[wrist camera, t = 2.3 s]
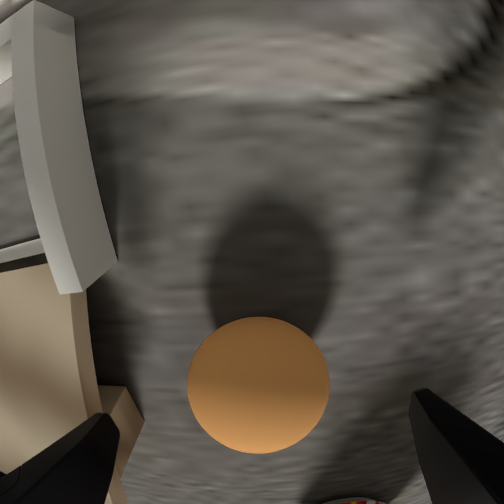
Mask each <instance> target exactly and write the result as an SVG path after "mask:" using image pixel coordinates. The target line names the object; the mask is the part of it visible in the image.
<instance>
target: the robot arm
mask: <svg viewBox="0 0 504 504" xmlns="http://www.w3.org/2000/svg"><path fill="white" fill-rule="evenodd" d="M409 419H410V423H411V427H412V432H413V436H414V441H415V446H416V450H417V455H418V460H419V463H420V467H421V470H422V473H423V476H424V479H425V482H426V485H427V488H428V491H429V494H430V498H431V501H432V504H504V443H503V442H502V441H501V440H499V439H498V438H496V437H495V436H493V435H492V434H491V433H489V432H488V431H486V430H485V429H484V428H482V427H481V426H479V425H478V424H477V423H475V422H474V421H472V420H471V419H470V418H468V417H467V416H465V415H464V414H463V413H461V412H460V411H458V410H457V409H456V408H454V407H453V406H452V405H450V404H449V403H447V402H446V401H445V400H443V399H442V398H440V397H439V396H438V395H436V394H435V393H433V392H432V391H431V390H429V389H428V388H422V389H419V390H415V391H413V393H412V396H411V402H410V407H409ZM119 440H120V431H119V429H118V427H117V425H116V424H115V422H114V421H113V419H112V417H111V416H110V415H109V414H108V413H101V412H98V413H95V414H94V415H92V416H91V417H90V418H88V419H87V420H85V421H84V422H83V423H81V424H80V425H78V426H77V427H76V428H74V429H73V430H71V431H70V432H68V433H67V434H66V435H64V436H63V437H61V438H60V439H58V440H57V441H56V442H54V443H53V444H51V445H50V446H48V447H47V448H45V449H44V450H42V451H41V452H40V453H38V454H37V455H35V456H34V457H32V458H31V459H29V460H28V461H26V462H25V463H23V464H22V465H21V466H19V467H17V468H16V469H14V470H13V471H11V472H10V473H8V474H5V473H3V472H1V471H0V504H105V501H106V497H107V494H108V490H109V487H110V483H111V480H112V476H113V472H114V467H115V461H116V455H117V450H118V445H119Z"/></svg>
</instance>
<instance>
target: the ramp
mask: <svg viewBox="0 0 504 504" xmlns="http://www.w3.org/2000/svg"><path fill="white" fill-rule="evenodd" d="M98 412H101V413H108V414H109V415H110V416H111V417H112V419H113V421H114V422H115V424H116V425H117V427H118V429H119V431H120V440H119V445H118V450H117V455H116V461H115V467H114V472H113V476H112V480H111V483H110V487H109V490H108V494H107V497H106V501H105V504H127V503H128V502H127V499H126V496H125V493H124V490H123V487H122V484H121V481H120V478H121V475H122V473H123V470H124V468H125V466H126V463H127V461H128V459H129V456H130V454H131V452H132V449H133V447H134V445H135V442H136V440H137V438H138V435H139V433H140V431H141V429H142V426H143V424H144V420H143V418H142V416H141V414H140V413H139V411H138V409H137V407H136V405H135V403H134V401H133V400H132V398H131V396H130V394H129V392H128V390H127V388H126V386H104V385H97V380H96V374H95V367H94V361H93V354H92V346H91V338H90V330H89V320H88V309H87V297H86V290H84V291H83V292H77V293H69V294H59V292H58V289H57V286H56V284H55V281H54V278H53V275H52V272H51V269H50V267H49V264H48V263H46V264H41V265H36V266H31V267H26V268H22V269H17V270H12V271H7V272H2V273H0V471H1V472H3V473H5V474H8V473H10V472H11V471H13V470H14V469H16V468H17V467H19V466H21V465H22V464H23V463H25V462H26V461H28V460H29V459H31V458H32V457H34V456H35V455H37V454H38V453H40V452H41V451H42V450H44V449H45V448H47V447H48V446H50V445H51V444H53V443H54V442H56V441H57V440H58V439H60V438H61V437H63V436H64V435H66V434H67V433H68V432H70V431H71V430H73V429H74V428H76V427H77V426H78V425H80V424H81V423H83V422H84V421H85V420H87V419H88V418H90V417H91V416H92V415H94V414H95V413H98Z"/></svg>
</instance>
